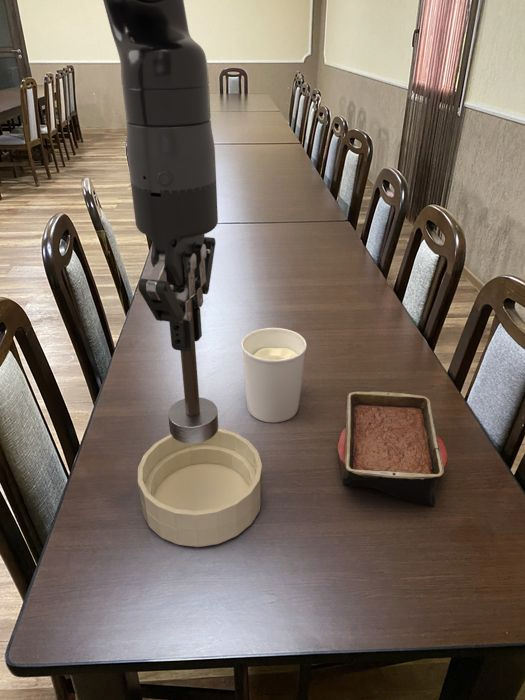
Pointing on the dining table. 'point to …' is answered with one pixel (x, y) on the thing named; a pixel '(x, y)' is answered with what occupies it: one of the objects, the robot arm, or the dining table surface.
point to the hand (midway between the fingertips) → (187, 343)
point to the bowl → (200, 488)
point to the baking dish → (392, 445)
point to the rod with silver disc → (192, 405)
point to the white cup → (273, 373)
